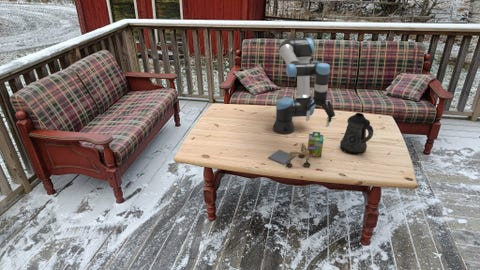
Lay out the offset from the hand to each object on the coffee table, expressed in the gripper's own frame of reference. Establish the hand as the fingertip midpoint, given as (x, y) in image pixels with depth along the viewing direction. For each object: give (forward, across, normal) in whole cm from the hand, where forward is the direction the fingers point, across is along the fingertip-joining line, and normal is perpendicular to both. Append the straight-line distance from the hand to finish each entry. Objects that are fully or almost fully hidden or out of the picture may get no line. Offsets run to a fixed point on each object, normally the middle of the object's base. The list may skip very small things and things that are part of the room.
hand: (317, 123), depth 205 cm
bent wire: (+21, 0, -16) cm, 27 cm away
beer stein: (+22, +18, +21) cm, 35 cm away
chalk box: (+22, 0, 0) cm, 22 cm away
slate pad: (+21, -13, -18) cm, 31 cm away
